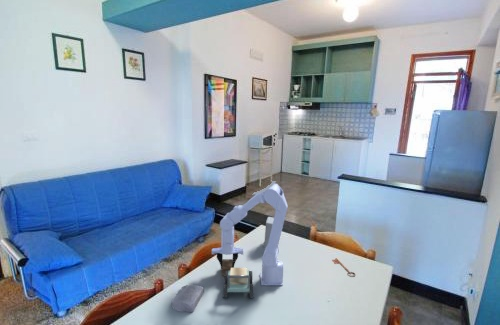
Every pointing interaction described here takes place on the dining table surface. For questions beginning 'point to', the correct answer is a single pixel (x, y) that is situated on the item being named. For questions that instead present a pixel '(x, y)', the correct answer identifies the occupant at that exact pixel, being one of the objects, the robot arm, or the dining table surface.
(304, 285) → the dining table surface
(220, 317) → the dining table surface
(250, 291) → the dark framed glass box
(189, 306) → the stone block
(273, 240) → the robot arm
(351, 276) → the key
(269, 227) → the skincare box
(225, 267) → the walnut chock
